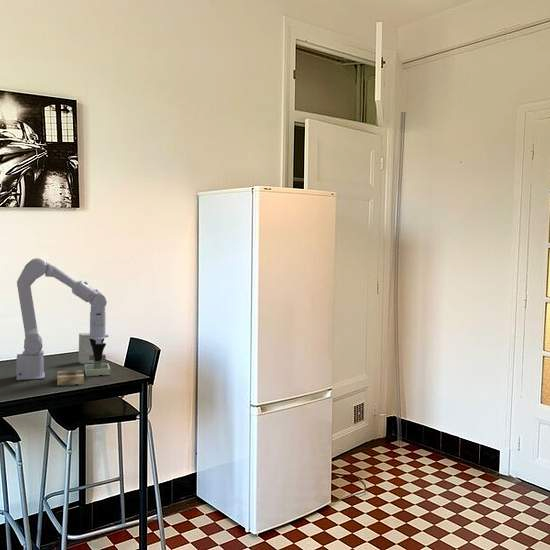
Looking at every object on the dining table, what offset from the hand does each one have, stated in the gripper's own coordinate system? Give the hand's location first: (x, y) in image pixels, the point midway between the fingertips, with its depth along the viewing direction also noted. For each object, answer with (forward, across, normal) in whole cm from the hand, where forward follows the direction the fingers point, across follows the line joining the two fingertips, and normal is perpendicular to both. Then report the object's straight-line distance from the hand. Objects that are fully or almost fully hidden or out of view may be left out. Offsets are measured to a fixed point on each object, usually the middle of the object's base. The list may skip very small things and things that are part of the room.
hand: (97, 358), depth 228 cm
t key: (+5, 0, 0) cm, 5 cm away
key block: (+6, -11, +10) cm, 16 cm away
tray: (+6, 0, 0) cm, 6 cm away
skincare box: (+6, +19, +3) cm, 20 cm away
